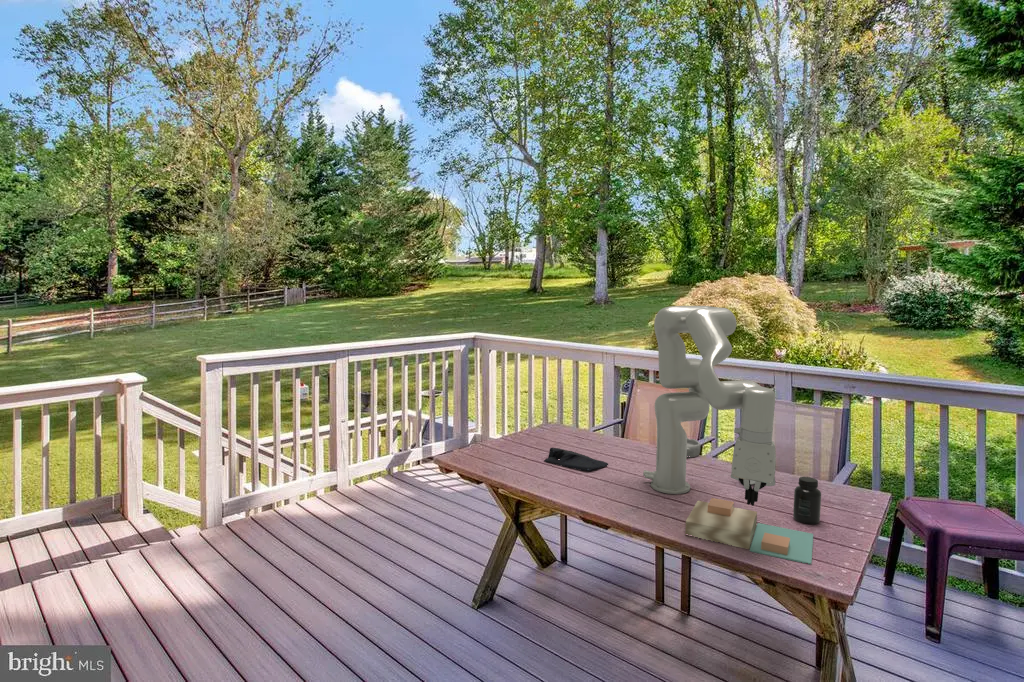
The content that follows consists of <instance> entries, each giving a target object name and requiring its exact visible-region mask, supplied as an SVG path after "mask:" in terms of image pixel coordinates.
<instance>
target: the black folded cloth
mask: <svg viewBox="0 0 1024 682" xmlns="http://www.w3.org/2000/svg"><path fill="white" fill-rule="evenodd" d="M558 459H560V460H558ZM543 461H544V462H545V461H546V462H545V463H551V464H553V463H554V464H553V465H556V464H557V465H558V466H560V465H562V466H561V467H566V466H568V467H567V468H569V467H572V468H571V469H574V468H576V469H575V470H578V469H581V470H580V471H583V470H584V471H585V470H586V472H589V471H590V472H591V471H592V470H593V471H594V470H596V469H602V468H606V467H607V465H608V464H609V463H608V462H605V461H604V460H603V461H602V460H599V459H596V458H592V457H590V456H588V455H584V454H582V453H579V452H576V451H573V450H567V449H563V448H560V447H559V448H558V447H550V448H549V452H548V455H547V458H544V460H543ZM557 465H556V466H557ZM605 466H606V467H605ZM608 466H609V465H608Z"/></svg>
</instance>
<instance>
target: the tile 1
mask: <svg viewBox="0 0 1024 682" xmlns="http://www.w3.org/2000/svg"><path fill="white" fill-rule="evenodd" d="M708 503H709V504H708V512H710V513H715V514H720V515H725V516H731V514H732V511H733V509H734V507H735V506H734V505H735V502H734V501H731V500H725V499H720V498H714V497H711V498H710V500H709V501H708Z"/></svg>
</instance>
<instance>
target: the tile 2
mask: <svg viewBox="0 0 1024 682" xmlns="http://www.w3.org/2000/svg"><path fill="white" fill-rule="evenodd" d="M789 546H790V538H788V537H783V536H779V535H774V534H769V533H764V536H763V539H762V542H761V549H763V550H767V551H771V552H776V553H780V554H784V555H787V554H788V550H789Z"/></svg>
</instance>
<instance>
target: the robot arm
mask: <svg viewBox="0 0 1024 682" xmlns="http://www.w3.org/2000/svg"><path fill="white" fill-rule="evenodd" d="M653 323H654V324H653V325H654V326H653V328H654V333H655V337H656V342H657V347H658V349H657V350H658V353H657V355H658V378H659V382H660V385H661V386H662V387H663V388H665V389H672V390H673V389H688V391H683V392H682V391H681V392H679V391H678V392H677V391H676V392H666V393H663V394H660V395H659V396H657V398H656V399H655V402H654V412H655V420H656V453H655V455H656V456H655V457H656V459H655V470H653V471H650V470H643V477H644V478H645V479H650V480H651V481H650V486H651V488H652V490H655V491H657V492H659V493H664V494H669V495H682V494H686V493H688V492H690V491H691V484H690V483H689V482H687V478H686V477H687V458H688V457H687V438H688V435H687V433H686V430H685V428H683V426H682V423H685V422H696V421H702V420H705V419H706V418H707V417H708V415H709V411H710V406H711V407H712V408H714V409H715V410H718V411H727V410H728V411H729V410H741V420H740V426H739V427H734V431H733V433H734V434H737V435H738V437H737V438H736V440H735V443H734V448H733V454H732V461H731V462H732V463H731V473H730V478H731V479H732V480H736V481H738V482H739V483H740V484H741V485H742V486H743V489H744V490H745V493H744V500H745V501H746V505H748V506H749V505H751V506H752V507H754V506H755V504H756V503H757V502H758V500H759V491H760V490H761V489H763V488H765V487H775V486H776V483H777V482H776V477H775V475H776V471H777V470H776V467H777V466H776V464H777V458H776V457H777V456H776V454H777V453H776V444H775V442H774V441H773V432H774V420H775V418H774V417H775V406H776V393H775V391H774V390H773V389H771V388H769V387H765V386H761V385H760V384H759V383H758V382H755V381H753V380H748V379H747V380H746V379H744V380H741V379H740V380H724V381H723V380H722V381H720V379H719V378H718V376H717V374H716V372H715V368H714V367H715V366H716V365H718V364H720V363H722V362H723V361H725V360H726V359H727V358H729V356H730V355H731V354H732V351H733V347H732V344H731V343H730V341H729V338H728V337H727V336H730V335H733V334H734V333H735V331H736V329H737V319H736V316H735V314H734V313H733V311H731V310H730V309H728V308H727V307H718V306H710V305H672V306H665V307H663V308H660V310H658V312H657V313H656V315H655V317H654V322H653ZM680 333H683V334H684V333H685V334H689V335H690V336H691V338H692V340H693V343H694V344H695V346H696V348H697V350H698V352H699V354H700V356H701V358H702V359H699V358H687V355H686V354H687V353H686V351H687V350H686V348H687V347H686V344H685V342H684V340H683V338H682V337H681V335H680ZM750 480H753V481H756V483H755V484H753V487H752V484H750Z"/></svg>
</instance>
